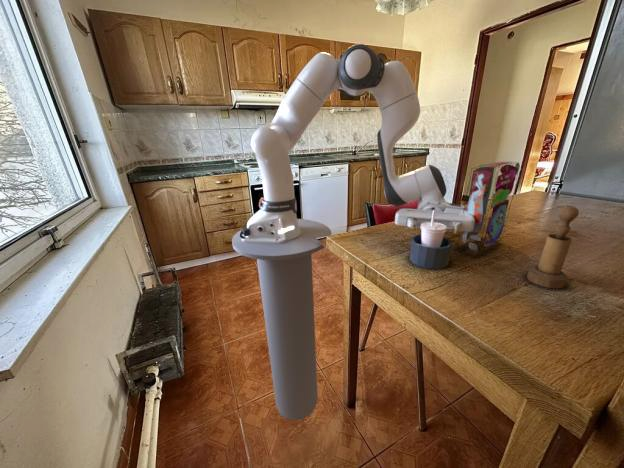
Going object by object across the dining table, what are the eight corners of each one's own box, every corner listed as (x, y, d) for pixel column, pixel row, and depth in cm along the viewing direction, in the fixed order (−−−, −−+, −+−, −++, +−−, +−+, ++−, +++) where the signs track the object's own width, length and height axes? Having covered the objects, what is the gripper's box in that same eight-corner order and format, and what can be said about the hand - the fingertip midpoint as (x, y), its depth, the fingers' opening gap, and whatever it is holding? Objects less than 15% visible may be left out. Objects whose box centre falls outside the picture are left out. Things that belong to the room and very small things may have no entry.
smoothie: (411, 255, 73) (417, 208, 68) (429, 251, 75) (436, 205, 70) (427, 265, 67) (435, 214, 62) (447, 261, 69) (455, 211, 64)
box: (492, 231, 89) (509, 158, 80) (513, 236, 84) (533, 159, 75) (455, 251, 76) (470, 166, 67) (477, 258, 71) (497, 168, 62)
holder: (417, 269, 67) (419, 248, 64) (404, 253, 76) (406, 234, 74) (455, 268, 67) (459, 247, 64) (438, 252, 76) (441, 233, 73)
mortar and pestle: (540, 272, 63) (564, 201, 57) (571, 286, 57) (602, 208, 51) (519, 276, 62) (541, 204, 55) (549, 291, 56) (577, 212, 49)
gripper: (397, 201, 81) (392, 214, 70) (471, 206, 74) (480, 221, 62) (395, 220, 84) (390, 235, 72) (467, 226, 76) (475, 244, 64)
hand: (432, 228), depth 67 cm, fingers open, 8 cm apart
